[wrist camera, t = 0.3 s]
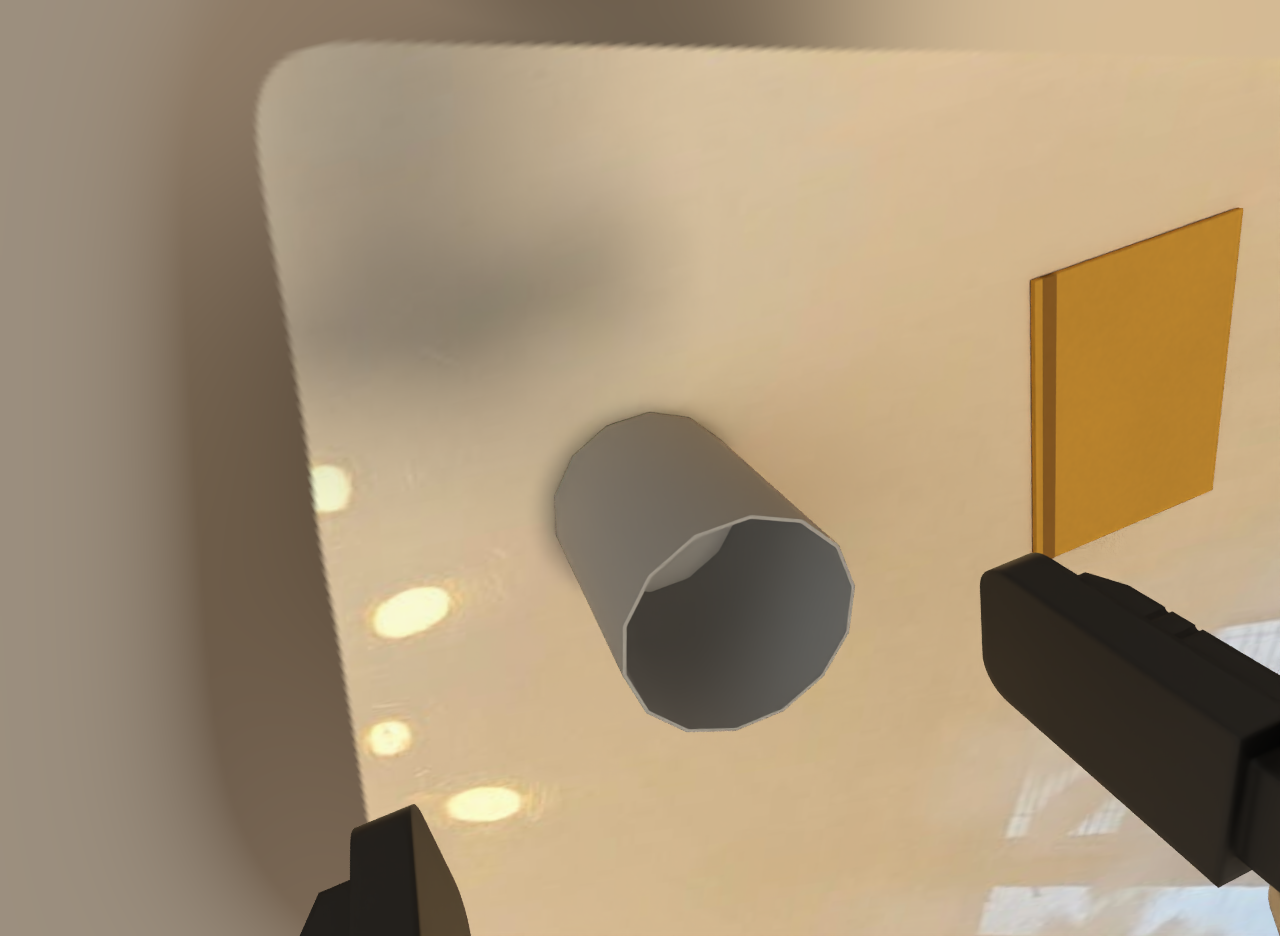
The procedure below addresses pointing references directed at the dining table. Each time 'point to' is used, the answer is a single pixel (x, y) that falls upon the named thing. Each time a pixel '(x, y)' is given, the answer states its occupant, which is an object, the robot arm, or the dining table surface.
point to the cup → (700, 574)
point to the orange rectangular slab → (1129, 381)
